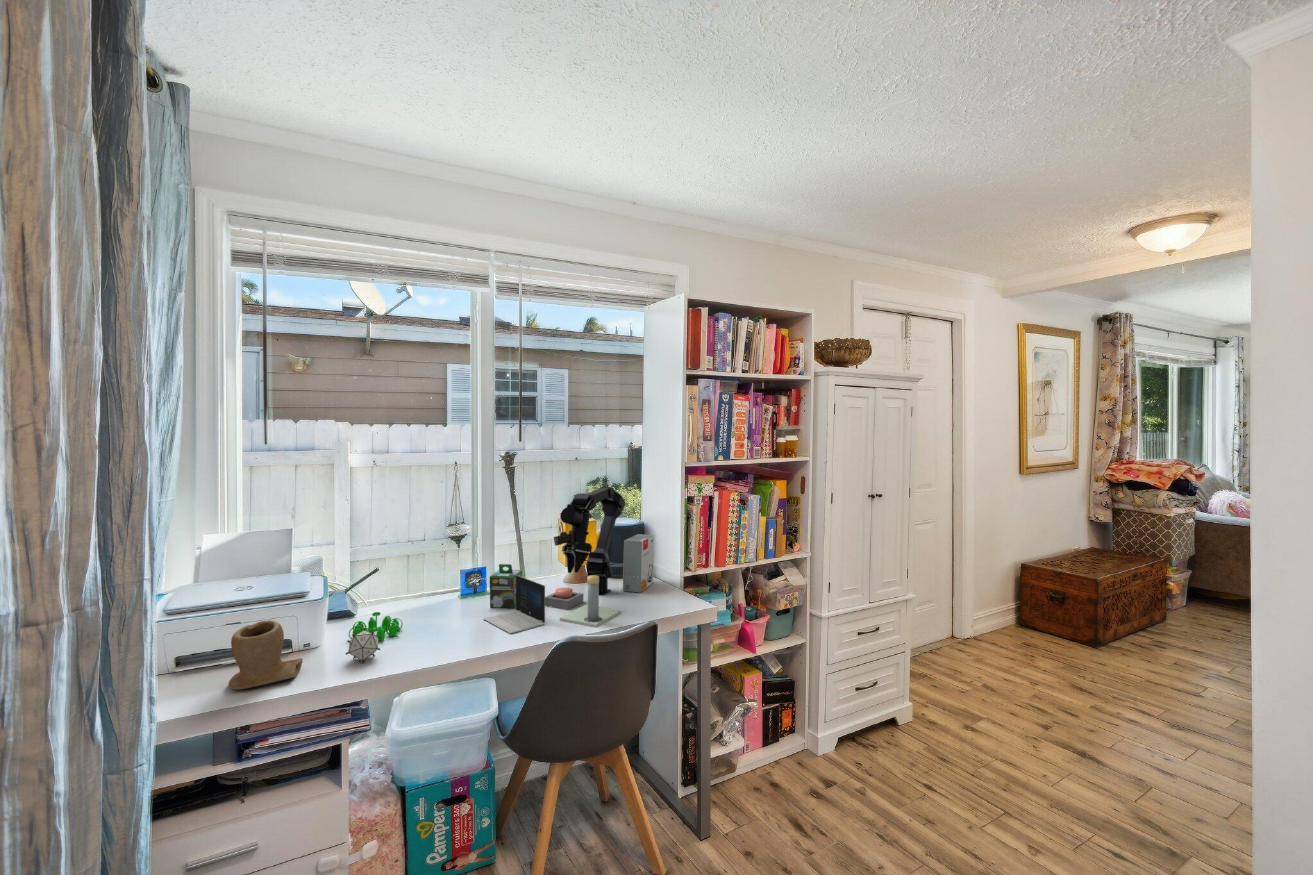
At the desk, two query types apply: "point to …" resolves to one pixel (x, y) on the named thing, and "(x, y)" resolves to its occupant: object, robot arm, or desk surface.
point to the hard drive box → (638, 563)
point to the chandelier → (380, 630)
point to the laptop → (523, 608)
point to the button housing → (564, 601)
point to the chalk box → (503, 587)
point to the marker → (593, 597)
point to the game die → (363, 645)
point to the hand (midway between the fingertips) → (572, 572)
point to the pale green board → (582, 616)
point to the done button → (564, 593)
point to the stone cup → (261, 656)
